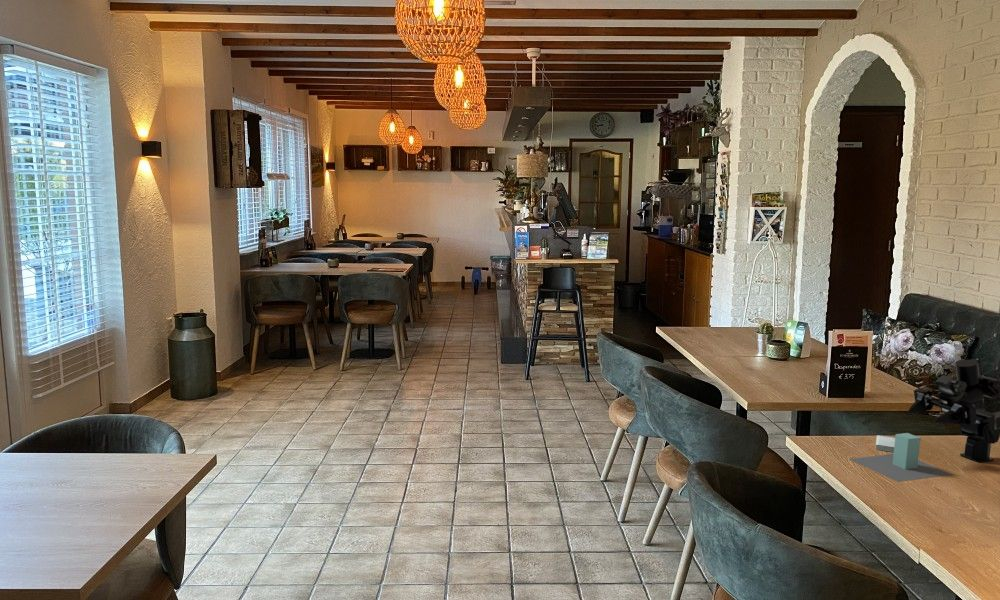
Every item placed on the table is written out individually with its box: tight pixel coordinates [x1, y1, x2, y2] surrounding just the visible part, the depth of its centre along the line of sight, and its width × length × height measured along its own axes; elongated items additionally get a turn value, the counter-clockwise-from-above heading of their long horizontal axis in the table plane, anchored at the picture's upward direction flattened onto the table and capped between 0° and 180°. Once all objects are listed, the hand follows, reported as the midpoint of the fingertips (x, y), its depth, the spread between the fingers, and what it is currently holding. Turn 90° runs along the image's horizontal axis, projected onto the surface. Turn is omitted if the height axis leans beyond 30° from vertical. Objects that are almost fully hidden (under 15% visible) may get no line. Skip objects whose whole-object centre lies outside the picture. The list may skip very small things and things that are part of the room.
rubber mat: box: [848, 453, 954, 483], centre depth 217 cm, size 20×18×1 cm
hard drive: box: [875, 434, 895, 453], centre depth 235 cm, size 2×8×12 cm
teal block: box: [893, 432, 921, 469], centre depth 217 cm, size 4×4×9 cm
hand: (922, 415), depth 217 cm, fingers open, 9 cm apart
